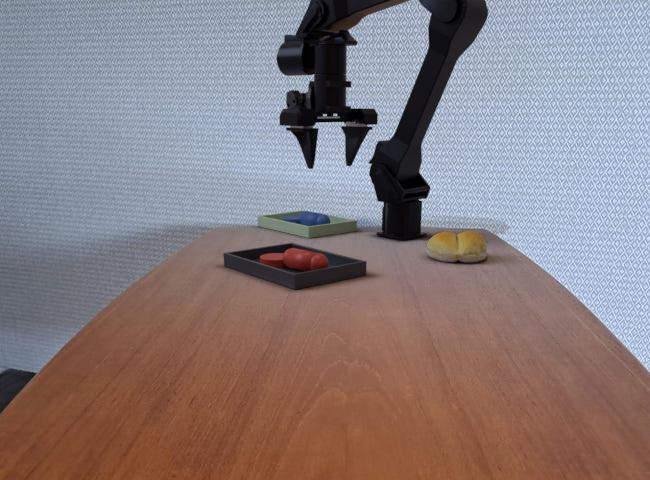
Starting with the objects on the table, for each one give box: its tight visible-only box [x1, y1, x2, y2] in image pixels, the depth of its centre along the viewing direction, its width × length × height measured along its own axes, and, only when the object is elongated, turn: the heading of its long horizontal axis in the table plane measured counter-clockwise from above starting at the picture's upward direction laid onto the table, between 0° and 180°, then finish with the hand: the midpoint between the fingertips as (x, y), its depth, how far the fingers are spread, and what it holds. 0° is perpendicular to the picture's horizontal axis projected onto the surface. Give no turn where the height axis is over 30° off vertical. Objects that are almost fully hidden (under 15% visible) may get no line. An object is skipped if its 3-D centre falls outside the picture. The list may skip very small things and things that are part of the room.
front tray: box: [222, 242, 367, 290], centre depth 94 cm, size 17×12×2 cm
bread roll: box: [426, 230, 488, 264], centre depth 101 cm, size 8×9×4 cm
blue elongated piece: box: [283, 210, 330, 226], centre depth 125 cm, size 12×5×3 cm, turn 40°
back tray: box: [256, 210, 358, 239], centre depth 125 cm, size 16×11×2 cm
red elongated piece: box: [260, 248, 329, 272], centre depth 93 cm, size 12×5×3 cm, turn 47°
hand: (330, 167), depth 124 cm, fingers open, 9 cm apart
